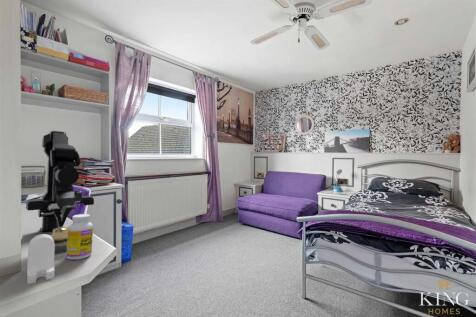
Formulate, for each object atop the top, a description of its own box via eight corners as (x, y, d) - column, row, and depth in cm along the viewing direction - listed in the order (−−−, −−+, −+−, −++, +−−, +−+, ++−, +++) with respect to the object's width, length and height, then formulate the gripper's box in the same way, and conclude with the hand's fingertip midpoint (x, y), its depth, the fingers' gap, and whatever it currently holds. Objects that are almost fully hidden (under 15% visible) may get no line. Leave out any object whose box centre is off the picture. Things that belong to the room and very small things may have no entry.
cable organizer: (51, 265, 69) (53, 230, 69) (54, 277, 61) (56, 238, 62) (27, 269, 65) (29, 233, 66) (27, 284, 58) (29, 242, 58)
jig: (40, 243, 85) (40, 238, 85) (70, 238, 92) (70, 233, 92) (47, 254, 76) (47, 248, 76) (80, 248, 82) (80, 242, 82)
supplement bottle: (79, 261, 71) (81, 218, 72) (60, 259, 73) (62, 217, 73) (96, 253, 78) (98, 214, 78) (79, 251, 79) (81, 212, 79)
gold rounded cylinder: (50, 245, 84) (51, 228, 84) (65, 243, 87) (66, 226, 87) (53, 249, 81) (54, 231, 81) (69, 246, 84) (69, 228, 84)
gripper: (30, 185, 72) (28, 237, 72) (99, 183, 85) (97, 227, 85) (26, 183, 80) (24, 230, 79) (90, 181, 93) (88, 221, 93)
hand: (61, 227), depth 84 cm, fingers closed
